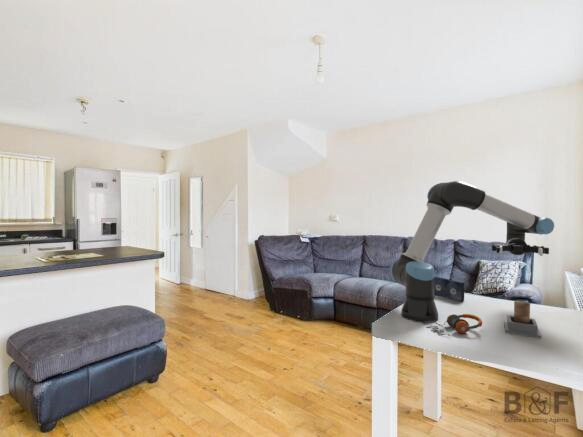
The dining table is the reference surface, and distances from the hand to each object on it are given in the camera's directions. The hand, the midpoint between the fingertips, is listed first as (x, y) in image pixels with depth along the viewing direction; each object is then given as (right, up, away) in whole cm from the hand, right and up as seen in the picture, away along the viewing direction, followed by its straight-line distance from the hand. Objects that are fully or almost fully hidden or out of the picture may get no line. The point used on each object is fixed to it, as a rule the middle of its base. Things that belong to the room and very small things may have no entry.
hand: (520, 251), depth 134 cm
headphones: (-31, -31, -6) cm, 44 cm away
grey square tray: (-5, -30, -7) cm, 31 cm away
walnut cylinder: (-5, -29, -7) cm, 30 cm away
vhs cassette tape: (-11, -29, +40) cm, 51 cm away
